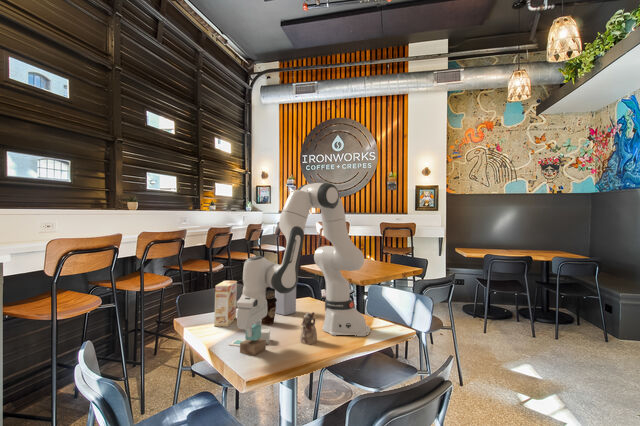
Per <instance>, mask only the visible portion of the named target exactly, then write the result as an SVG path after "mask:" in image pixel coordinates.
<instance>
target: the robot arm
mask: <svg viewBox="0 0 640 426" xmlns="http://www.w3.org/2000/svg"><path fill="white" fill-rule="evenodd" d="M311 209H320V217H321V224H322V231H323V236H324V237H325V239H326V240H328V241H329V242H330V243H331V244H332V245H324V246H320V247H317V248H316V250H315V251H314V255H313V259H314V263H315V265H316V266H317V267H318V268H319V270H320V271H321V272H322V275H323V277H324V281H325V295H326V296H325V299H324V300H325V302H324V309H325V310H324V311H325V313H324V320H323V325H322V328H321V329H322V331H324V333H325V332H326V333H329V334H330V335H331V336H334V337H335V336H336V335H355V336H354V337H366V335H367V336H368V334H369V333H371V327H370V326H369V325H368V324H367V323H366V319H365V316H364V315H363V314H362V313H361V312H359V310H357V309H356V308H355V302H354V300H352V299H350V294H351V293H350V287H351V285H350V282H349V280H348V279H346V278H345V277H344V275H342V271H346V272H352V271H353V272H354V271H359V270H360V269H361V268H362V267H363V265H364V262H365V256H364V254H363V251H362V250H361V249H360V248H358V247H357V246H356V245H355V244H354V242H353V241H352V239H351V237H350V235H349V233H348V232H349V231H348V229H347V228H348V227H347V226H348V225H347V220H346V214H345V208H344V205H343V201H342V198H341V197H340V192H339V190H338V188H337V186H336V185H335V184H332V183H329V182H314V183H313V182H312V183H305V184H302V185H301V186H299V187H298V188H297V189H296V190H294V189H293V191H291V192H290V194H289V195H288V197H287V199H286V201H285V203H284V204H283V208H282V211H281V214H280V216H279V222H278V228H279V230H280V232H281V233H282V234H283V235H284V237H285V240H286V241H285V243H286V245H285V249H284V253H283V258H282V260H281V261H282V262H281V264H278V263H276V262H273V261H270V260H268V259H267V258H266V257H264V256H263V255H256V256H251V257H249V258H247V259H245V261H244V262H243V263H244V264H243V271H242V283H243V288H242V294H241V296H240V298H239V299H238V300H236V308H238V309H237V310H236V323H237V329H239V330H245V332H246V331H247V337H252V336H253V331H252V325H261V319H262V318H264V317H265V316H267V300H266V299H265V296H266V289H267V288H271V289H273V290H274V291H275V290H276V291H278V292H279V293H283V294H285V293H289V292H291V291H292V290H293V289H294V288H295V287H296V288H297V285H298V283H299V264H300V259H301V256H302V255H301V254H302V250H303V244H304V240H305V228H306V224H307V220H308V218H309V214H310V210H311ZM356 335H357V336H356ZM369 335H370V334H369Z"/></svg>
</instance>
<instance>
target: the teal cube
mask: <svg viewBox="0 0 640 426" xmlns="http://www.w3.org/2000/svg"><path fill="white" fill-rule="evenodd" d="M261 329H262V324H260V325H255V324H254V325H252V331H253V336H252V337H247V331H246V330H245V339H244V340H255V341H256V340H258V339H259V338H260V337H261Z"/></svg>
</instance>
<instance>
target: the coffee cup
mask: <svg viewBox="0 0 640 426" xmlns="http://www.w3.org/2000/svg"><path fill="white" fill-rule="evenodd" d="M265 299H266V300H267V316H265V317H264V318H262V319H261V323H260V325H264V326H268V325H269V326H270V325H273V324H275V319H276V318H275V317H276V313H275V311H276V301H277V299H276V298H275V295H265Z"/></svg>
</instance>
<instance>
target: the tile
mask: <svg viewBox="0 0 640 426" xmlns="http://www.w3.org/2000/svg"><path fill="white" fill-rule="evenodd" d="M243 341H245V339H237V338H236V339H235V340H233V341H231V342H229V344H228V346H233V347H240V343H241V342H243Z"/></svg>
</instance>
